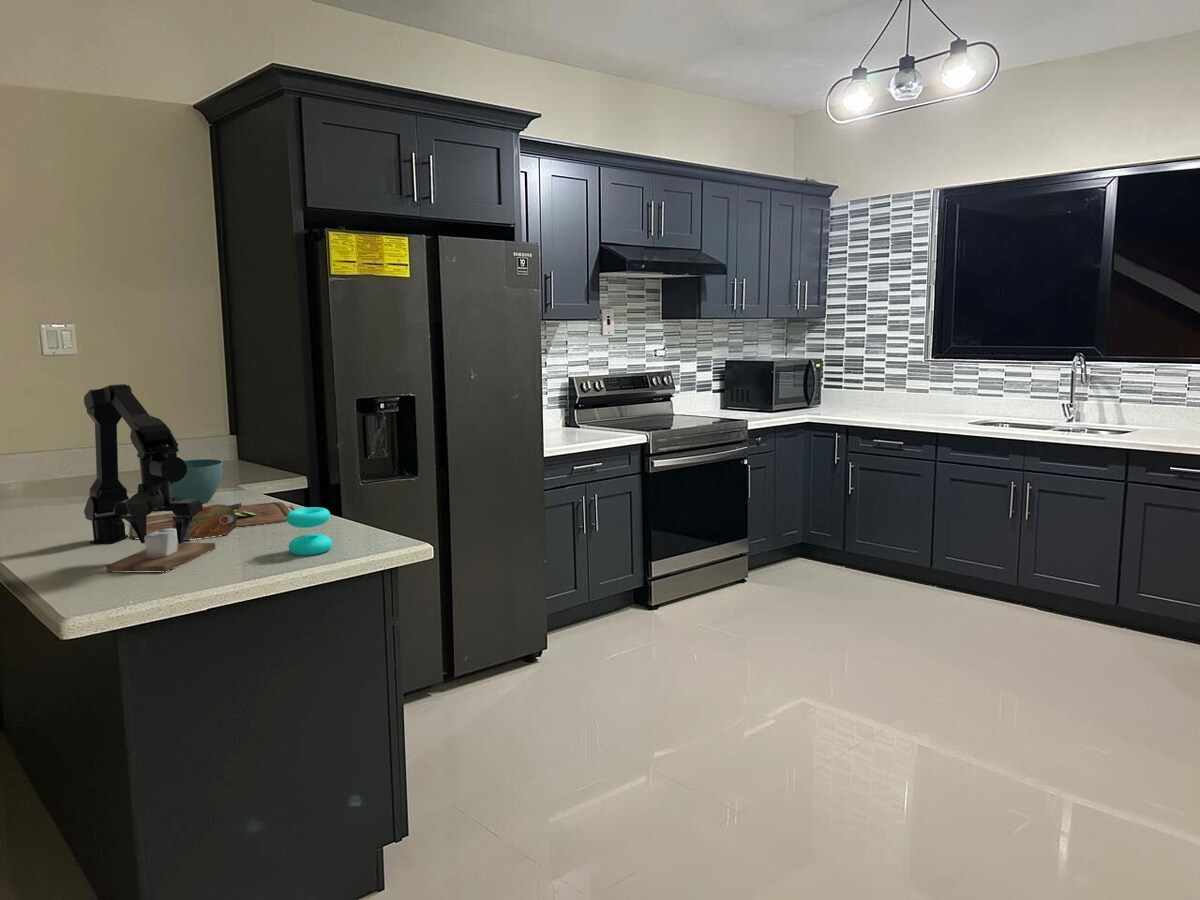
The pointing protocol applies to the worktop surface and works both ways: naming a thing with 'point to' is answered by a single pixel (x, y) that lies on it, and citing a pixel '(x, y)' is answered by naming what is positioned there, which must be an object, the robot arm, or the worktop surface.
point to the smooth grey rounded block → (161, 543)
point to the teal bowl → (198, 480)
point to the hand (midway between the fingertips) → (162, 543)
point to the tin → (211, 522)
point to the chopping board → (244, 514)
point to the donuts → (309, 542)
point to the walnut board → (161, 564)
